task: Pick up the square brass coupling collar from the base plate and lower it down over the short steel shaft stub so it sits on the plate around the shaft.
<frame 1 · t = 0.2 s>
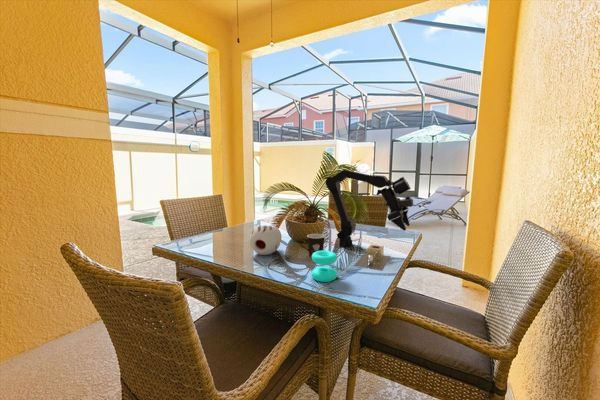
hand: (407, 227, 132), 14 cm above the table, tool tilted 30°, fingers open, 9 cm apart
coffee mug: (312, 255, 136), on the table
brass collar: (375, 257, 128), point 1 cm above the table, touching base plate
base plate: (372, 264, 124), on the table
donuts: (324, 278, 109), on the table
decorative object: (266, 253, 140), on the table
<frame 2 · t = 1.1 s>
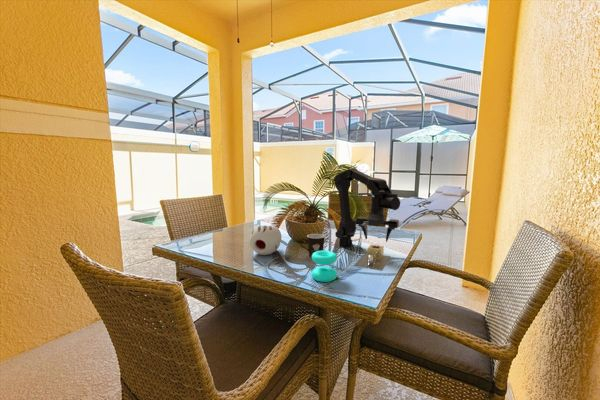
hand: (376, 240, 128), 10 cm above the table, tool pointing down, fingers open, 9 cm apart
nothing on the table moved.
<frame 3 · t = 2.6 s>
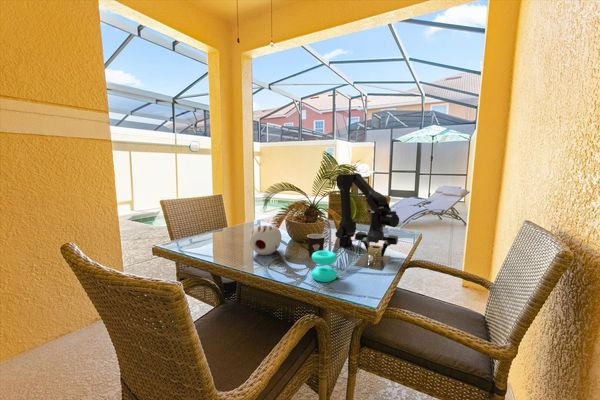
hand: (375, 255, 128), 2 cm above the table, tool pointing down, fingers closed on brass collar, 6 cm apart
brass collar: (375, 257, 128), point 1 cm above the table, touching base plate, gripper
everything else where it was.
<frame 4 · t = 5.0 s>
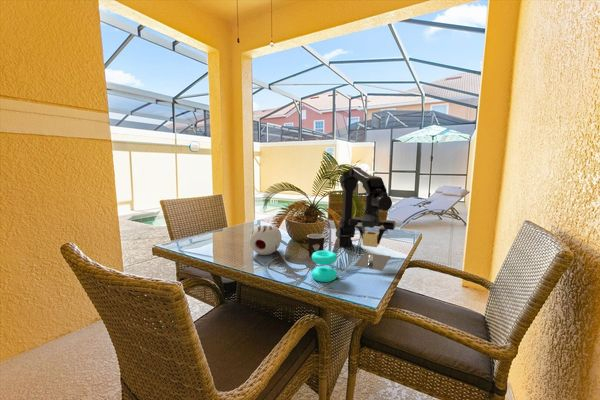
hand: (371, 242, 119), 11 cm above the table, tool pointing down, fingers closed on brass collar, 6 cm apart
brass collar: (371, 244, 119), point 10 cm above the table, touching gripper
everything else where it was.
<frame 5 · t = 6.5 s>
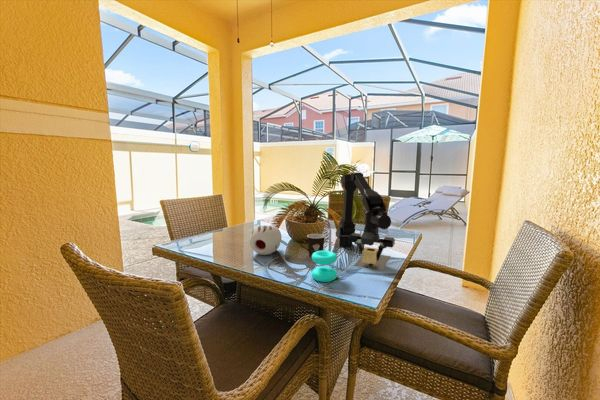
hand: (370, 259, 119), 4 cm above the table, tool pointing down, fingers closed on brass collar, 6 cm apart
brass collar: (370, 260, 120), point 3 cm above the table, touching gripper
everything else where it was.
when the fingers open (3 cm above the table, at t = 7.6 s): brass collar stays where it is, resting on base plate.
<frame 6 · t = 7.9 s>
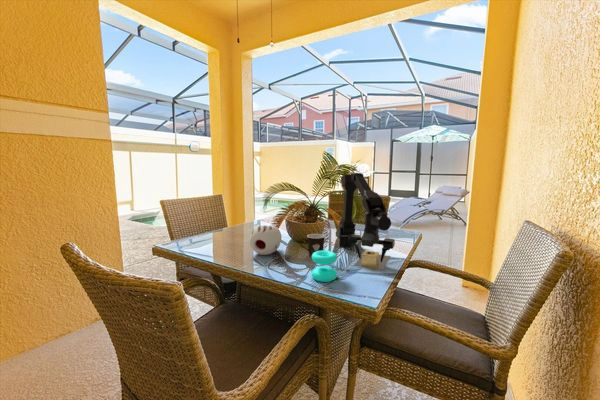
hand: (370, 260, 120), 3 cm above the table, tool pointing down, fingers open, 9 cm apart
brass collar: (370, 264, 120), point 1 cm above the table, touching base plate
everything else where it was.
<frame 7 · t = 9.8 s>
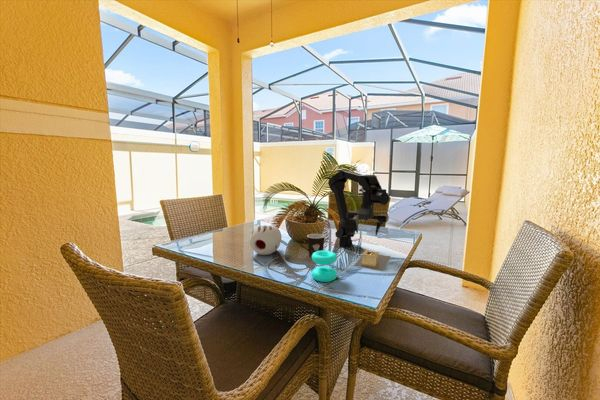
hand: (366, 233, 132), 12 cm above the table, tool pointing down, fingers open, 9 cm apart
nothing on the table moved.
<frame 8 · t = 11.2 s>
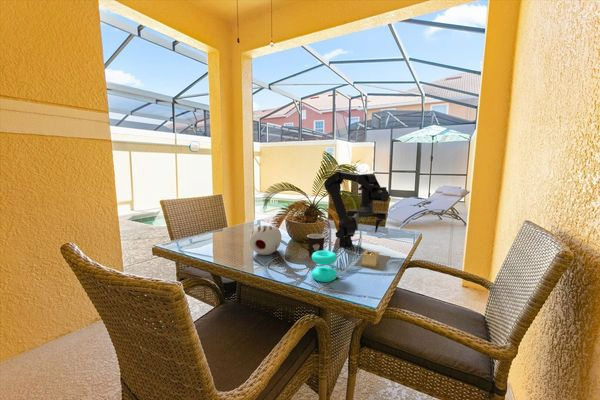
hand: (366, 231, 135), 12 cm above the table, tool pointing down, fingers open, 9 cm apart
nothing on the table moved.
at the end: brass collar 0.0 cm from the target spot on the base plate, point 1.5 cm above the base plate's base; brass collar tilted 0°; the gripper is holding nothing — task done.
